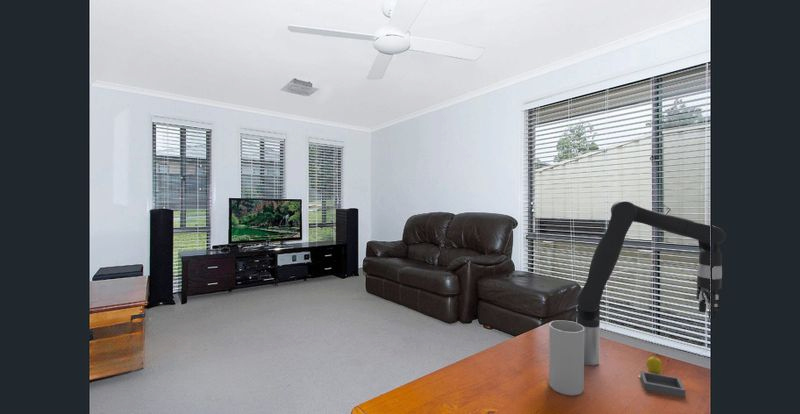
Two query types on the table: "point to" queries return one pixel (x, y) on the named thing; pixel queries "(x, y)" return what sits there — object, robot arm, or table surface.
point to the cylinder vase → (566, 357)
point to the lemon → (654, 365)
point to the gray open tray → (662, 384)
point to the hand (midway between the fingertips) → (707, 315)
